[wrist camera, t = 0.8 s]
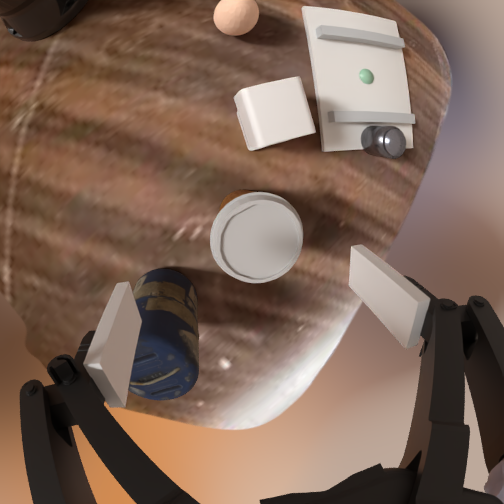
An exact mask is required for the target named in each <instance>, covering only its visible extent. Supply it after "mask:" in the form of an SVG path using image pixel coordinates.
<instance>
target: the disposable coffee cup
mask: <svg viewBox="0 0 504 504" xmlns="http://www.w3.org/2000/svg"><path fill="white" fill-rule="evenodd" d="M302 244H303V226H302V222H301V219H300V217H299V215H298V213H297V211H296V210H295V208H294V207H293V206H292V205H291V204H290V203H289V202H287V201H286V200H284V199H283V198H281V197H280V196H277V195H274V194H271V193H266V192H253V191H249V190H238V191H234V192H232V193H230V194H229V195H228V196H226V198H225V199H224V200H223V202H222V203H221V206H220V210H219V213H218V215H217V217H216V219H215V220H214V222H213V226H212V229H211V234H210V245H211V251H212V254H213V257H214V259H215V260H216V262H217V264H218V265H219V266H220V267H221V268H222V270H223V271H225V272H226V273H227V274H229V275H230V276H232V277H234V278H236V279H239V280H241V281H244V282H248V283H264V282H268V281H271V280H274V279H277V278H278V277H280V276H282V275H283V274H285V273H286V272H287V271H288V270H289V269H290V268H291V267H292V266H293V265H294V263H295V262H296V260H297V259H298V257H299V254H300V252H301V248H302Z"/></svg>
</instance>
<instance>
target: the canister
mask: <svg viewBox="0 0 504 504" xmlns="http://www.w3.org/2000/svg"><path fill="white" fill-rule="evenodd" d="M133 296H134V299H135V302H136V305H137V308H138V311H139V314H140V317H141V320H142V323H141V327H140V332H139V336H138V341H137V346H136V350H135V355H134V360H133V365H132V371H131V376H130V382H129V387H128V390H129V391H130V392H132V393H134V394H136V395H138V396H141V397H144V398H147V399H152V400H170V399H174V398H178V397H180V396H182V395H184V394H186V393H187V392H188V391H190V390H191V389H192V387H193V386H194V385H195V383H196V381H197V378H198V374H199V347H198V340H199V333H198V312H197V306H198V304H197V294H196V291H195V288H194V286H193V284H192V283H191V282H190V281H189V279H188V278H186V277H185V276H184V275H182V274H181V273H179V272H177V271H174V270H170V269H156V270H152V271H150V272H148V273H146V274H145V275H143V276H142V277H141V278H140V279H139V280H138V282H137V284H136V286H135V288H134V291H133Z"/></svg>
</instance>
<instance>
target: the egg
mask: <svg viewBox="0 0 504 504" xmlns="http://www.w3.org/2000/svg"><path fill="white" fill-rule="evenodd" d="M258 17H259V9H258V6H257V4H256V2H255V1H254V0H221V1H220V2H219V3H218V5H217V6H216V8H215V11H214V22H215V25H216V26H217V28H218V29H219V30H220V31H221V32H223V33H225V34H227V35H233V36H237V35H242V34H245V33H247V32H249V31H250V30H251V29H252V28H253V27H254V26H255V24H256V23H257V21H258Z"/></svg>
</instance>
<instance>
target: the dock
mask: <svg viewBox="0 0 504 504" xmlns="http://www.w3.org/2000/svg"><path fill="white" fill-rule="evenodd" d="M301 9H302V14H303V19H304V24H305V29H306V35H307V40H308V46H309V52H310V58H311V65H312V71H313V78H314V85H315V92H316V100H317V108H318V117H319V126H320V136H321V146H322V151H324V152H327V151H341V150H359V149H363V147H362V145H361V134H362V132H363V130H364V129H365V128H366V127H368V126H395V127H397V128H399V129H400V130H401V131H402V132H403V134H404V136H405V139H406V148H413V134H412V124H415V114H411V108H410V99H409V90H408V83H407V76H406V69H405V63H404V58H403V52H402V48H404V47H405V45H404V40H403V38H400V37H399V33H398V28H397V24H396V21H393V20H389V19H384V18H380V17H376V16H371V15H366V14H361V13H356V12H350V11H343V10H336V9H329V8H320V7H309V6H303V7H302V8H301Z"/></svg>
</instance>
